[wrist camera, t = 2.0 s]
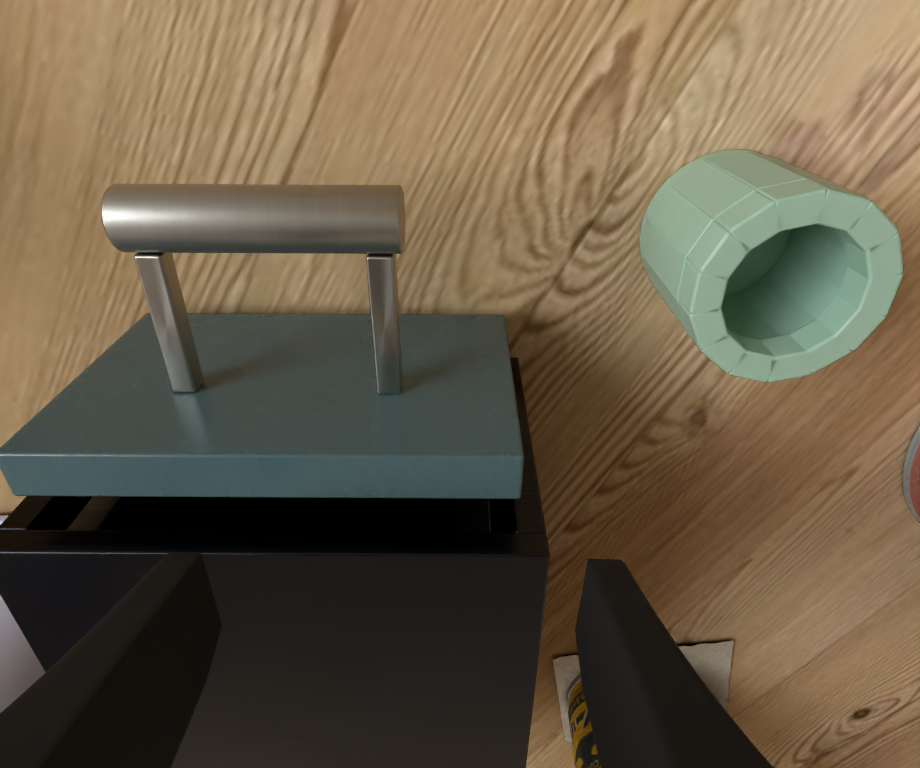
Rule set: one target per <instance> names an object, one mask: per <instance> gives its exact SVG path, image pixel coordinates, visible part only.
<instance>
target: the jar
mask: <svg viewBox="0 0 920 768" xmlns="http://www.w3.org/2000/svg"><path fill="white" fill-rule="evenodd" d="M639 247H640V255H641V260H642V263H643V266H644V268H645V270H646V272H647V274H648V276H649V279H650V282H651V283H652V285H653V286H654V287H655V289H656V290H657V292H658V293H659V294H660V296H661V297H662V299H663V300H664V301H665V303H666V304H667V306H668V307H669V308H670V310H671V311H672V313H673V314H674V315H675V317H676V318H677V319H678V321H679V322H680V324H681V325H682V326H683V328H684V329H685V331H686V332H687V333H688V334H689V335H690V337H691V338H692V340H693V341H694V343H695V344H696V345H697V347H698V348H699V350H700V351H701V352H702V353H703V354H704V355H705V356H706V357H708V358H709V359H710V360H711V361H712V362H713V363H715V364H716V365H717V366H718V367H719V368H720V369H722V370H723V371H724V372H726V373H728V374H729V375H732V376H737V377H742V378H746V379H751V380H756V381H760V382H769V383H770V382H776V381H781V380H787V379H792V378H798V377H804V376H809V375H810V374H811V373H815V372H817V371H819V370H821V369H822V368H824V367H826V366H828V365H830V364H831V363H833V362H835V361H837V360H839V359H841V358H842V357H844V356H846V355H848V354H850V353H851V351H854V350H856V349H857V348H858V347H859V346H860V344H861V343H862V342H863V341H864V340H865V339H866V338H867V337H868V336H869V335H870V334H871V333H872V332H873V331H874V330H875V328H876V327H877V326H878V325H879V324H880V323H881V322H882V321H883V320H884V319H885V315H887V314H888V312H889V310H890V307H891V305H892V302H893V300H894V297H895V295H896V292H897V290H898V287H899V285H900V282H901V280H902V278H903V274H902V272H903V261H902V252H901V242H900V234H899V233H898V229H897V227H896V226H895V225H894V224H893V223H892V222H891V221H890V219H889V218H888V217H887V216H886V215H885V214H884V213H883V211H882V210H881V209H880V208H879V207H878V206H877V205H876V203H875V202H873V201H871V200H869V199H868V198H866V197H864V196H861V195H859V194H857V193H854V192H852V191H850V190H848V189H846V188H844V187H841V186H839V185H837V184H835V183H832V182H830V181H828V180H825V179H823V178H821V177H819V176H816V175H814V174H812V173H809V172H807V171H805V170H803V169H800V168H798V167H796V166H793V165H791V164H789V163H787V162H784V161H782V160H780V159H777V158H774V157H770V156H766V155H763V154H761V153H758V152H754V151H750V150H742V149H731V150H722V151H717V152H713V153H710V154H707V155H704V156H702V157H699V158H697V159H695V160H693V161H691V162H690V163H688V164H686V165H685V166H683V167H682V168H680V169H679V170H678V171H677V172H675V173H674V174H673V175H672V176H671V177H670V178H669V179H668V180H667V181H666V182H665V183H664V184H663V185H662V186H661V187H660V189H659V190H658V191H657V193H656V194H655V196H654V197H653V199H652V200H651V202H650V204H649V206H648V208H647V210H646V212H645V215H644V218H643V221H642V225H641V230H640V238H639Z"/></svg>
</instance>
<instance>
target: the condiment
mask: <svg viewBox="0 0 920 768" xmlns="http://www.w3.org/2000/svg"><path fill="white" fill-rule="evenodd" d="M733 643H734V641H726V642H720V643H714V644H706V643H703V644H697V645H694V646H678V647H679V648H680V650H681V651H682V653H683V654H684V655H685V657H686V658H687V660H688V661H689V662H690V664H691V665H692V667H693V668H694V669H695V671H696V672H697V674H698V675H699V676H700V678H701V679H702V680H703V682H704V683H705V684H706V686H707V687H708V688H709V690H710V691H711V692H712V694H713V695H714V696H715V697H716V699H717V700H718V701H719V703H720V704H721V705H722V706H723V708H724V709H725V710H726V711H727V706H728V691H729V676H730V673H731V658H732V653H733ZM553 666H554V672H555V679H556V685H557V692H558V698H559V705H560V711H561V718H562V724H563V731H564V737H565V742H572V744H573V753H574V758H575V765H576V768H601V766H600V761H599V757H598V753H597V749H596V744H595V740H594V736H593V731H592V727H591V723H590V718H589V714H588V710H587V705H586V701H585V696H584V692H583V687H582V681H581V673H580V665H579V658H578V655H572V656H565V657H559V658H557V659H554V660H553Z"/></svg>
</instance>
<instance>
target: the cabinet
mask: <svg viewBox="0 0 920 768" xmlns="http://www.w3.org/2000/svg"><path fill="white" fill-rule="evenodd" d="M510 360H511V367H512V374H513V382H514V389H515V396H516V404H517V411H518V418H519V425H520V433H521V440H522V447H523V454H524V464H523V478H522V491H521V497H520V498H519V499H490V510H491V528H492V533H429V532H276V531H122V530H66V529H67V528H68V527H69V525H70V524H71V523H72V521H73V520H74V519H75V518H76V516H77V515H78V514H79V512H80V511H81V510H82V509H83V507H84V506H85V505H86V504H87V502H88V501H89V500H90V498H91V497H92V496H26V498H25V499H24V500H23V501H22V502H21V503H20V504H19V505H18V506H17V507H16V508H15V510H14V511H13V512H12V513H11V514H10V515H9V516H8V517H7V518H6V519H5V520H4V521H3V523H2V524H1V525H0V595H1V597H2V599H3V601H4V602H5V604H6V606H7V607H8V609H9V611H10V613H11V614H12V616H13V618H14V619H15V621H16V623H17V625H18V626H19V628H20V630H21V631H22V633H23V635H24V637H25V638H26V640H27V642H28V644H29V645H30V647H31V649H32V650H33V652H34V654H35V656H36V657H37V659H38V661H39V662H40V664H41V666H42V668H43V669H44V671H45V673H46V672H47V671H48V670H49V669H50V668H51V667H52V666H53V665H55V664H56V663H57V662H58V661H59V660H60V659H61V658H62V657H63V656H64V655H65V654H66V653H67V652H68V651H69V650H70V649H71V648H72V647H74V646H75V645H76V644H77V643H78V642H79V641H80V640H81V639H82V638H83V637H84V636H85V635H86V634H87V633H88V632H89V631H90V630H91V629H92V628H93V627H94V626H95V625H96V624H97V623H98V622H99V621H100V620H101V619H102V618H104V617H105V616H106V615H107V614H108V613H109V612H110V611H111V610H112V609H113V608H114V607H115V606H116V605H117V604H118V603H119V602H120V601H121V600H122V599H123V598H124V597H125V596H126V595H127V594H128V593H129V592H130V591H131V589H132V588H133V587H134V586H135V585H136V584H137V583H138V582H139V581H140V580H141V579H142V578H143V577H144V576H145V575H146V574H147V573H148V572H149V571H150V570H151V569H152V568H153V567H154V566H155V565H156V564H157V563H159V562H160V561H161V560H162V559H163V558H164V557H165V556H166V555H167V554H168V553H201V554H202V557H203V561H204V564H205V567H206V571H207V574H208V578H209V581H210V585H211V588H212V592H213V595H214V599H215V602H216V606H217V609H218V612H219V616H220V619H221V623H222V627H221V631H220V635H219V639H218V642H217V646H216V650H215V653H214V657H213V660H212V664H211V667H210V670H209V674H208V677H207V680H206V683H205V686H204V688H203V691H202V693H201V696H200V698H199V701H198V703H197V705H196V708H195V710H194V713H193V715H192V718H191V720H190V723H189V725H188V727H187V730H186V732H185V735H184V737H183V740H182V742H181V744H180V747H179V749H178V752H177V754H176V756H175V759H174V761H173V764H172V766H171V768H526V761H527V752H528V744H529V735H530V726H531V717H532V709H533V700H534V691H535V682H536V673H537V665H538V656H539V647H540V638H541V630H542V621H543V612H544V603H545V594H546V586H547V577H548V568H549V559H550V553H549V547H548V541H547V535H546V529H545V522H544V516H543V510H542V504H541V497H540V491H539V485H538V479H537V473H536V466H535V460H534V454H533V448H532V442H531V435H530V429H529V423H528V417H527V410H526V404H525V398H524V392H523V386H522V379H521V373H520V367H519V361H518V358H510Z"/></svg>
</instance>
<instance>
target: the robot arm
mask: <svg viewBox="0 0 920 768" xmlns="http://www.w3.org/2000/svg"><path fill="white" fill-rule="evenodd" d="M8 516H9V515H0V525H1V524H2V523H3V521H4V520H5V519H6V518H7V517H8ZM221 627H222V623H221V619H220V616H219V612H218V609H217V606H216V602H215V599H214V595H213V592H212V588H211V585H210V581H209V578H208V574H207V571H206V567H205V564H204V561H203V557H202V554H201V553H168V554H167V555H166V556H165V557H164V558H163V559H162V560H161V561H160V562H159V563H157V564H156V565H155V566H154V567H153V568H152V569H151V570H150V571H149V572H148V573H147V574H146V575H145V576H144V577H143V578H142V579H141V580H140V581H139V582H138V583H137V584H136V585H135V586H134V587H133V588H132V589H131V591H130V592H129V593H128V594H127V595H126V596H125V597H124V598H123V599H122V600H121V601H120V602H119V603H118V604H117V605H116V606H115V607H114V608H113V609H112V610H111V611H110V612H109V613H108V614H107V615H106V616H105V617H104V618H102V619H101V620H100V621H99V622H98V623H97V624H96V625H95V626H94V627H93V628H92V629H91V630H90V631H89V632H88V633H87V634H86V635H85V636H84V637H83V638H82V639H81V640H80V641H79V642H78V643H77V644H76V645H75V646H74V647H72V648H71V649H70V650H69V651H68V652H67V653H66V654H65V655H64V656H63V657H62V658H61V659H60V660H59V661H58V662H57V663H56V664H55V665H53V666H52V667H51V668H50V669H49V670H48V671H47V672H46V673H45V671H44V669H43V668H42V666H41V664H40V662H39V661H38V659H37V657H36V656H35V654H34V652H33V650H32V649H31V647H30V645H29V644H28V642H27V640H26V638H25V637H24V635H23V633H22V631H21V630H20V628H19V626H18V625H17V623H16V621H15V619H14V618H13V616H12V614H11V613H10V611H9V609H8V607H7V606H6V604H5V602H4V601H3V599H2V597H1V595H0V768H171V766H172V764H173V761H174V759H175V756H176V754H177V752H178V749H179V747H180V744H181V742H182V740H183V737H184V735H185V732H186V730H187V727H188V725H189V723H190V720H191V718H192V715H193V713H194V710H195V708H196V705H197V703H198V701H199V698H200V696H201V693H202V691H203V688H204V686H205V683H206V680H207V677H208V674H209V670H210V667H211V664H212V660H213V657H214V653H215V650H216V646H217V642H218V639H219V635H220V631H221ZM575 632H576V640H577V649H578V658H579V665H580V673H581V681H582V687H583V692H584V696H585V701H586V705H587V710H588V714H589V718H590V723H591V727H592V731H593V736H594V740H595V744H596V749H597V753H598V757H599V761H600V766H601V768H773V767H772V765H771V764H770V763H769V762H768V761H767V760H766V759H765V757H764V756H763V755H762V754H761V753H760V752H759V751H758V749H757V748H756V747H755V746H754V745H753V743H752V742H751V741H750V740H749V739H748V737H747V736H746V735H745V734H744V733H743V731H742V730H741V729H740V728H739V727H738V725H737V724H736V723H735V722H734V720H733V719H732V718H731V717H730V715H729V714H728V713H727V711H726V710H725V709H724V708H723V706H722V705H721V704H720V703H719V701H718V700H717V699H716V697H715V696H714V695H713V694H712V692H711V691H710V690H709V688H708V687H707V686H706V684H705V683H704V682H703V680H702V679H701V678H700V676H699V675H698V674H697V672H696V671H695V669H694V668H693V667H692V665H691V664H690V662H689V661H688V660H687V658H686V657H685V655H684V654H683V653H682V651H681V650H680V648H679V647H678V646H677V644H676V643H675V641H674V640H673V638H672V637H671V635H670V634H669V633H668V631H667V630H666V628H665V627H664V625H663V624H662V622H661V621H660V619H659V617H658V616H657V614H656V613H655V611H654V610H653V608H652V607H651V605H650V604H649V602H648V600H647V599H646V597H645V596H644V594H643V592H642V591H641V589H640V588H639V586H638V584H637V583H636V581H635V579H634V578H633V576H632V574H631V573H630V571H629V569H628V568H627V566H626V564H625V563H624V562H623V561H622V560H616V559H588V562H587V568H586V573H585V579H584V585H583V590H582V596H581V601H580V607H579V612H578V618H577V623H576V629H575Z"/></svg>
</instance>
